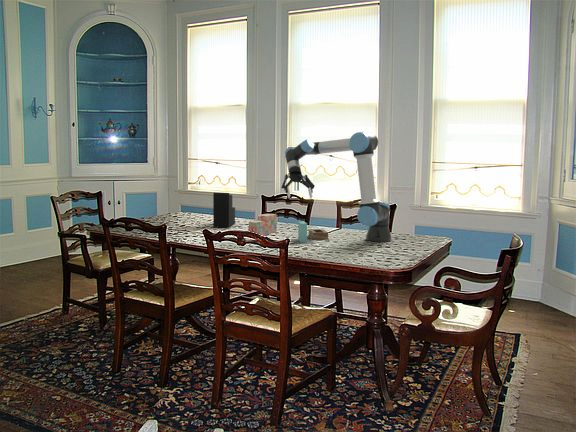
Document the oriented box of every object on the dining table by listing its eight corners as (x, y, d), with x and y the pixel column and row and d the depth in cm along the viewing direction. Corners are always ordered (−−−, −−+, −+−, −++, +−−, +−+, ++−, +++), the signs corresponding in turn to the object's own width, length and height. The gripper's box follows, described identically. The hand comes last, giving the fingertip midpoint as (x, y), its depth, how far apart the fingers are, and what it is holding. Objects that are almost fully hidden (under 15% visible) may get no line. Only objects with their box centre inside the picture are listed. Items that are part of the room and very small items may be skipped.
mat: (289, 239, 348) (289, 239, 348) (309, 239, 350) (309, 238, 350) (294, 244, 333) (294, 243, 333) (315, 244, 335) (315, 243, 335)
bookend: (220, 222, 411) (220, 189, 407) (235, 223, 410) (236, 189, 406) (212, 227, 388) (213, 192, 384) (229, 228, 387) (229, 193, 383)
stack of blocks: (256, 237, 354) (256, 217, 352) (248, 236, 357) (248, 216, 356) (276, 233, 371) (277, 214, 370) (268, 232, 375) (269, 213, 373)
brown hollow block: (307, 236, 360) (308, 229, 360) (323, 236, 362) (323, 229, 361) (312, 240, 347) (312, 232, 347) (328, 240, 349) (329, 232, 349)
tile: (298, 240, 345) (298, 221, 344) (303, 240, 346) (304, 221, 344) (300, 242, 337) (301, 223, 336) (306, 242, 338) (307, 223, 336)
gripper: (312, 173, 363) (318, 201, 351) (273, 172, 356) (278, 200, 345) (315, 166, 357) (322, 193, 346) (276, 164, 351) (281, 192, 339)
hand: (300, 197), depth 345 cm, fingers open, 13 cm apart
